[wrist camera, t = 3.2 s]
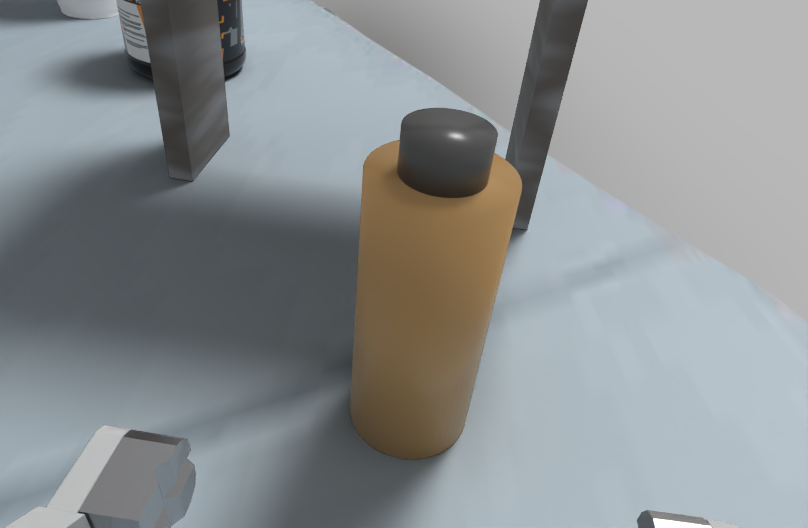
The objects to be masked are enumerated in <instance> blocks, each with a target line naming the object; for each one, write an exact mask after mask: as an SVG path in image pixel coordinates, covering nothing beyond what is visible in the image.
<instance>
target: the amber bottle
mask: <svg viewBox="0 0 808 528" xmlns="http://www.w3.org/2000/svg"><path fill="white" fill-rule="evenodd" d="M497 137H498V133H497V130H496V129H495V127H494V126H493V125H492V124H491V123H490V122H488V121H487V120H485V119H483V118H482V117H479V116H477V115H475V114H472V113H469V112H465V111H461V110H456V109H448V108H428V109H421V110H417V111H414V112H412V113H410V114H408V115H406V116H405V117H404V118H403V120H402V123H401V132H400V140H397V141H393V142H390V143H387V144H385V145H382V146H380V147H379V148H377V149H375V150H374V151H373V152H371V153H370V154H369V156H368V157H367V158H366V160H365V162H364V165H363V181H362V199H361V217H360V235H359V253H358V271H357V289H356V307H355V325H354V343H353V361H352V379H351V397H350V416H351V419H352V423H353V425H354V427H355V429H356V431H357V432H358V434H359V435H360V436H361V437H362V439H363V440H364V441H365V442H367V443H368V444H369V445H370V446H372V447H373V448H375V449H376V450H378V451H380V452H382V453H384V454H387V455H389V456H393V457H397V458H403V459H422V458H427V457H431V456H434V455H437V454H439V453H441V452H443V451H445V450H446V449H448V448H449V447H450V446H452V445H453V444H454V443H455V442H456V440H457V439H458V438H459V436H460V435H461V433H462V431H463V428H464V425H465V421H466V417H467V413H468V409H469V405H470V401H471V397H472V392H473V388H474V384H475V380H476V376H477V372H478V368H479V364H480V360H481V356H482V352H483V347H484V343H485V339H486V335H487V331H488V327H489V323H490V319H491V315H492V311H493V306H494V302H495V298H496V294H497V290H498V286H499V282H500V278H501V274H502V270H503V266H504V261H505V257H506V253H507V249H508V245H509V241H510V237H511V233H512V229H513V225H514V220H515V216H516V212H517V208H518V204H519V200H520V196H521V192H522V181H521V178H520V175H519V174H518V172H517V171H516V169H515V168H514V167H513V166H512V165H511V164H510V163H509V162H507V161H506V160H505V159H503V158H502V157H500V156H499V155H497V154H495V153H494V151H495V147H496V142H497Z"/></svg>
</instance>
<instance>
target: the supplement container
mask: <svg viewBox="0 0 808 528" xmlns="http://www.w3.org/2000/svg"><path fill="white" fill-rule="evenodd" d="M116 1H117V7H118V12H119V17H120V23H121V28H122V33H123V38H124V44H125V54H126V58H127V60H128V62H129V64H130V65H131V67H132V68H133V69H135V70H136V71H137V72H139V73H140V74H142V75H144V76H146V77H149V78H151V79H153V75H152V69H151V63H150V57H149V51H148V45H147V39H146V33H145V27H144V21H143V15H142V9H141V3H140V0H116ZM217 4H218V15H219V26H220V37H221V48H222V58H223V69H224V78H226V77H228V76H230V75H232V74H234V73H235V72H237V71H238V70H239V69H240V68H241V67H242V66H243V64H244V62H245V59H246V48H245V44H244V29H243V14H242V0H217Z"/></svg>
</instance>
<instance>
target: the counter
mask: <svg viewBox="0 0 808 528" xmlns="http://www.w3.org/2000/svg"><path fill="white" fill-rule="evenodd" d="M587 2H588V0H540V3H539V8H538V12H537V17H536V22H535V26H534V31H533V35H532V40H531V45H530V49H529V54H528V59H527V63H526V67H525V72H524V76H523V81H522V86H521V90H520V95H519V100H518V104H517V108H516V113H515V118H514V122H513V127H512V131H511V136H510V140H509V145H508V150H507V154H506V159H505V160H506V161H507V162H509V163H510V164H511V165H512V166H513V167H514V168H515V169H516V171H517V172H518V174H519V175H520V178H521V181H522V192H521V196H520V200H519V204H518V208H517V212H516V216H515V220H514V225H513V228H518V229H525V230H527V228H528V224H529V221H530V217H531V213H532V209H533V206H534V202H535V198H536V194H537V191H538V187H539V183H540V179H541V175H542V172H543V168H544V164H545V160H546V157H547V153H548V149H549V145H550V141H551V137H552V134H553V130H554V126H555V122H556V119H557V115H558V111H559V107H560V103H561V100H562V96H563V92H564V88H565V84H566V81H567V77H568V73H569V69H570V66H571V62H572V58H573V55H574V50H575V47H576V43H577V39H578V36H579V32H580V28H581V24H582V21H583V17H584V13H585V9H586V5H587ZM140 3H141V9H142V15H143V21H144V27H145V33H146V39H147V45H148V51H149V57H150V63H151V69H152V75H153V81H154V87H155V93H156V99H157V105H158V111H159V117H160V123H161V129H162V135H163V141H164V147H165V153H166V159H167V165H168V171H169V177H170V178H175V179H182V180H189V181H193V180H194V179H195V178H196V177H197V175H198V174H199V173H200V172H201V170H202V169H203V168H204V167H205V166H206V164H207V163H208V162H209V161H210V159H211V158H212V157H213V156H214V154H215V153H216V152H217V151H218V150H219V148H220V147H221V146H222V145H223V143H224V142H225V141H226V140H227V138H228V137H229V136H230V134H229V123H228V113H227V102H226V91H225V80H224V69H223V58H222V48H221V37H220V26H219V15H218V4H217V0H140Z"/></svg>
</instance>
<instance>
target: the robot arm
mask: <svg viewBox="0 0 808 528" xmlns="http://www.w3.org/2000/svg"><path fill="white" fill-rule="evenodd" d="M190 451H191V448H190V445H189V441H188V439H186V438H180V437H174V436H168V435H161V434H155V433H149V432H143V431H136V430H133V429H127V428H120V427H114V426H107V425H103V426H102V427H101V428H100V429H99V430H98V431H96V432H95V433H94V434H93V436H92V437H91V439H90V441H89V442H88V444H87V445H86V447H85V448H84V450H83V451H82V453H81V454H80V456H79V457H78V459H77V460H76V462H75V463H74V465H73V466H72V468H71V470H70V471H69V473H68V474H67V476H66V477H65V479H64V480H63V482H62V483H61V485H60V486H59V488H58V489H57V491H56V492H55V494H54V495H53V497H52V499H51V500H50V502H49V503H48V505H47V506H46V507H39V506H37V507H36V508H34V509H33V510H31V511H30V512H28V513H26V514H25V515H23V516H22V517H20V518H19V519H17V520H16V521H14V522H13V523H11V524H10V525H8V526H7V527H5V528H171V526H172V525H173V524H175V523H176V522H177V521H179V520H180V519H181V518H183V517H184V516H185V514H186V512H187V509H188V507H189V505H190V502H191V499H192V495H193V491H194V487H195V480H196V472H195V466H194V464H193V463H192V462H191V461H189V460H188V459H187V457H188V455H189V453H190ZM637 523H638V528H739V527H738V526H737V525H736V524H733V523H730V522H723V521H716V520H709V519H703V518H701V517H693V516H686V515H679V514H672V513H664V512H657V511H650V510H646V511H643V512H642V513H641V514H640V516H639V517H638V519H637Z"/></svg>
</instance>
